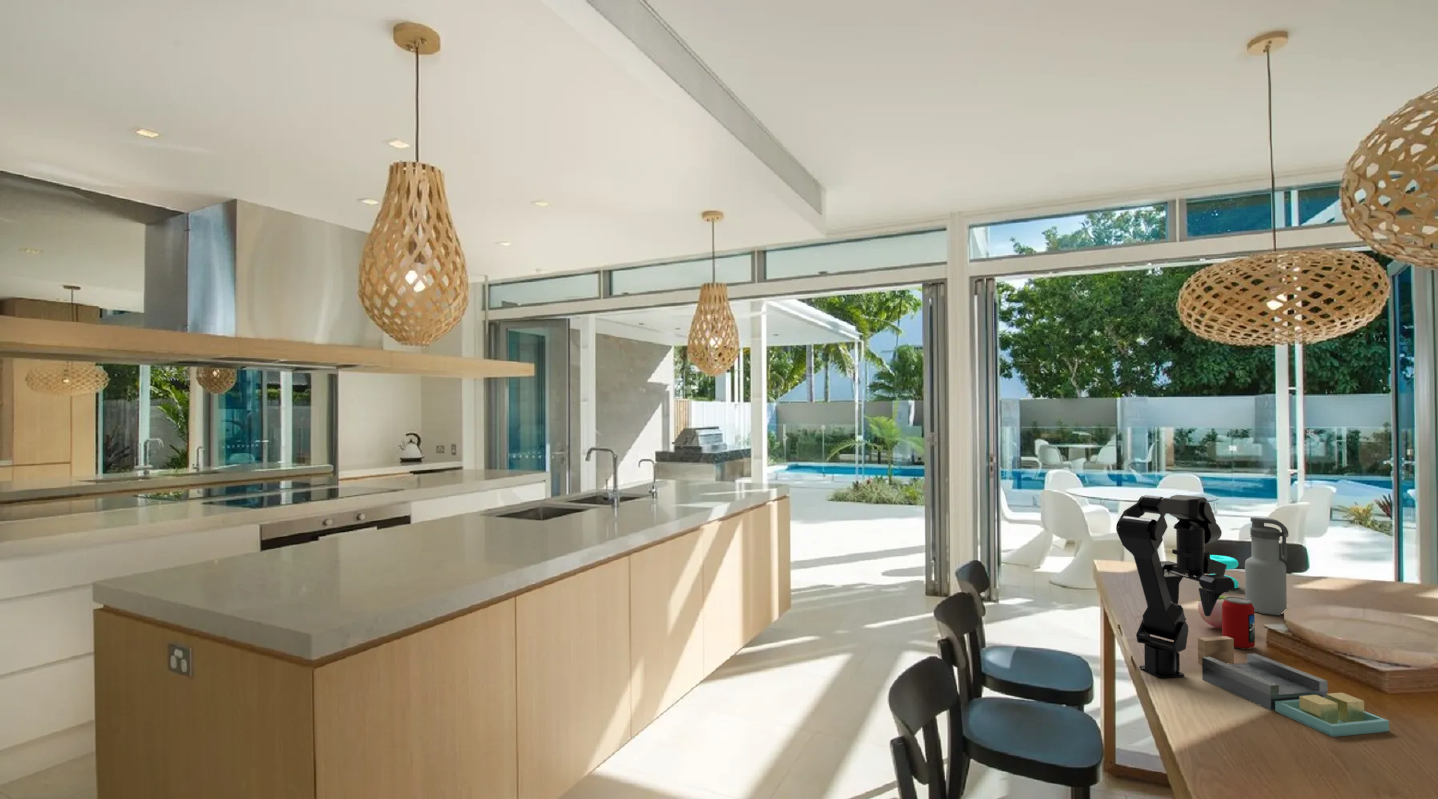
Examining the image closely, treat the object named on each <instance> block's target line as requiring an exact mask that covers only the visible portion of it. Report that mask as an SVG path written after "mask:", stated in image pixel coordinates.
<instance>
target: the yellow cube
mask: <svg viewBox="0 0 1438 799" xmlns="http://www.w3.org/2000/svg"><path fill="white" fill-rule="evenodd" d="M1325 695H1326V699H1328V700H1330V701H1333V702H1335V703H1338V719H1339V720H1341V721H1344V722H1346V723H1347V722H1357V721H1364V711H1365V700H1363V699H1361V698H1358V697H1354V696H1353V695H1350V694H1347V693H1344V692H1332V693H1328V694H1325Z"/></svg>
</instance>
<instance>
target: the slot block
mask: <svg viewBox="0 0 1438 799" xmlns="http://www.w3.org/2000/svg"><path fill="white" fill-rule="evenodd" d="M1201 667H1202V668H1201V672H1202V673H1201V674H1202V676H1201V679H1202V680H1203V681H1205V680H1206V681H1205V682H1207V681H1208V682H1207V683H1210V684H1212V685H1215V686H1216V687H1219V688H1221V689H1223V690H1225V691H1228V692H1230V693H1231V694H1234V695H1236V696H1239V697H1240V696H1241V698H1243V699H1245V700H1247V701H1249V700H1251V701H1252V703H1254V702H1255V703H1254V704H1256V705H1258V704H1260V705H1261V707H1263V708H1264V709H1267V708H1268V709H1267V710H1269V709H1270V710H1269V711H1275V701H1284V700H1295V699H1299V696H1308V695H1318V696H1321V697H1326V695H1325V694H1329V693H1328V680H1326V679H1325V678H1321V677H1318V676H1315V675H1313V674H1310V673H1308V672H1304V671H1302V670H1300V669H1297V668H1296V667H1292V666H1288V665H1287V664H1284V663H1281V662H1278V661H1276V660H1274V659H1270V658H1268V657H1265V656H1263V655H1260V654H1258V653H1255V652H1254V653H1247V654H1246V662H1238V663H1237V662H1236V663H1234V664H1226V663H1224V662H1221V661H1219V660H1217V659H1214V658H1212V657H1202V664H1201ZM1251 701H1250V702H1251ZM1260 705H1259V706H1260Z"/></svg>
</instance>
